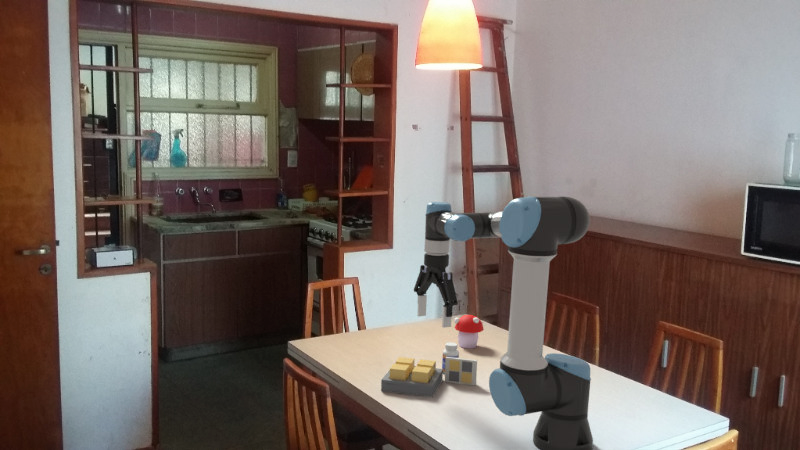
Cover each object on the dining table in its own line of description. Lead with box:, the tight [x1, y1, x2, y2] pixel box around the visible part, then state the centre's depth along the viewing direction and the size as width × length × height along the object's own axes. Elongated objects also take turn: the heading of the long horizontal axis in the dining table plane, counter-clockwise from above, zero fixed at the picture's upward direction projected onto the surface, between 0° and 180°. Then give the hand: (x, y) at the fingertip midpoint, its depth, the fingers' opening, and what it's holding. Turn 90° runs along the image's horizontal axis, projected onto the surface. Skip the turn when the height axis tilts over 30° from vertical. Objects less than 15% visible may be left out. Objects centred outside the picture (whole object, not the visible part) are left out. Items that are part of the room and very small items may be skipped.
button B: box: [389, 363, 409, 381], centre depth 223 cm, size 5×5×4 cm
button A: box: [412, 365, 431, 383], centre depth 221 cm, size 5×5×4 cm
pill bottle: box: [441, 342, 460, 375], centre depth 239 cm, size 5×5×10 cm
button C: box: [416, 358, 437, 376], centre depth 228 cm, size 5×5×4 cm
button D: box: [395, 356, 416, 373], centre depth 230 cm, size 5×5×4 cm
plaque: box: [444, 357, 478, 386], centre depth 229 cm, size 1×10×8 cm, turn 76°
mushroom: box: [453, 314, 485, 349], centre depth 269 cm, size 11×11×12 cm
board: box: [380, 365, 444, 398], centre depth 226 cm, size 16×16×4 cm
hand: (433, 321), depth 221 cm, fingers open, 13 cm apart
